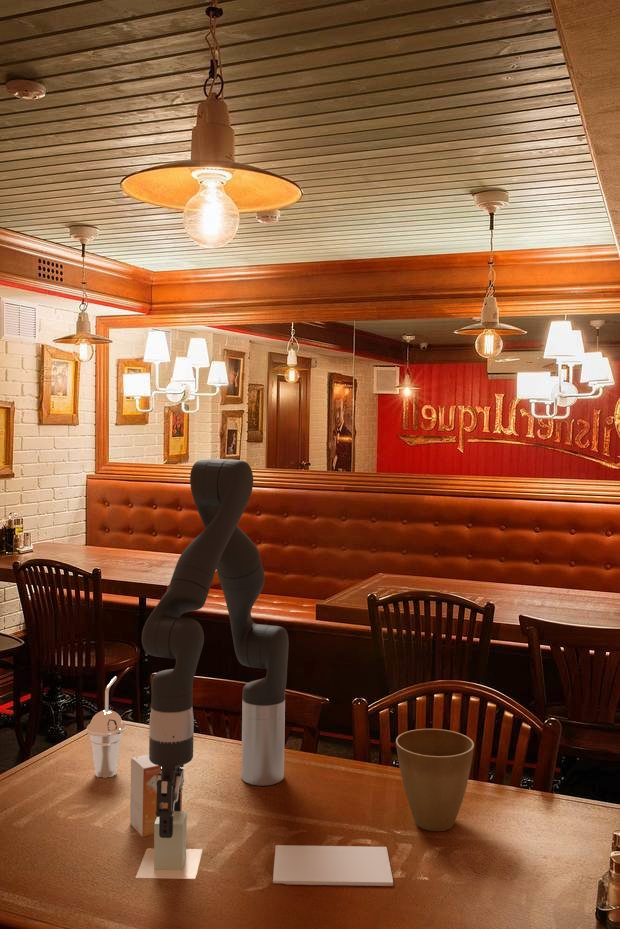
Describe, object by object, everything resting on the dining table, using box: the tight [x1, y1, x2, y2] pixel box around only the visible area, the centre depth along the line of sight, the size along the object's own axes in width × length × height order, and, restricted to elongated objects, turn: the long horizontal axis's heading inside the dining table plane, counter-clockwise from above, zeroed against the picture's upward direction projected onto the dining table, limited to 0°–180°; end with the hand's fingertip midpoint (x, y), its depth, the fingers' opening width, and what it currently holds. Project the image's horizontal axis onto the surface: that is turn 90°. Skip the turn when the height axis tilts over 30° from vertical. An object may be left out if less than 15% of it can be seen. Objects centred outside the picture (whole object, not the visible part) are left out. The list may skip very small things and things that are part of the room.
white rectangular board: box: [272, 844, 394, 887], centre depth 146 cm, size 12×20×1 cm, turn 90°
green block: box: [153, 810, 188, 870], centre depth 146 cm, size 5×5×8 cm
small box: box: [129, 753, 183, 838], centre depth 160 cm, size 8×6×13 cm
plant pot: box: [395, 728, 475, 832], centre depth 163 cm, size 15×15×16 cm
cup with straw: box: [85, 675, 127, 779], centre depth 184 cm, size 8×9×20 cm
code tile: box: [135, 847, 204, 880], centre depth 146 cm, size 10×10×1 cm
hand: (170, 825), depth 146 cm, fingers open, 8 cm apart
